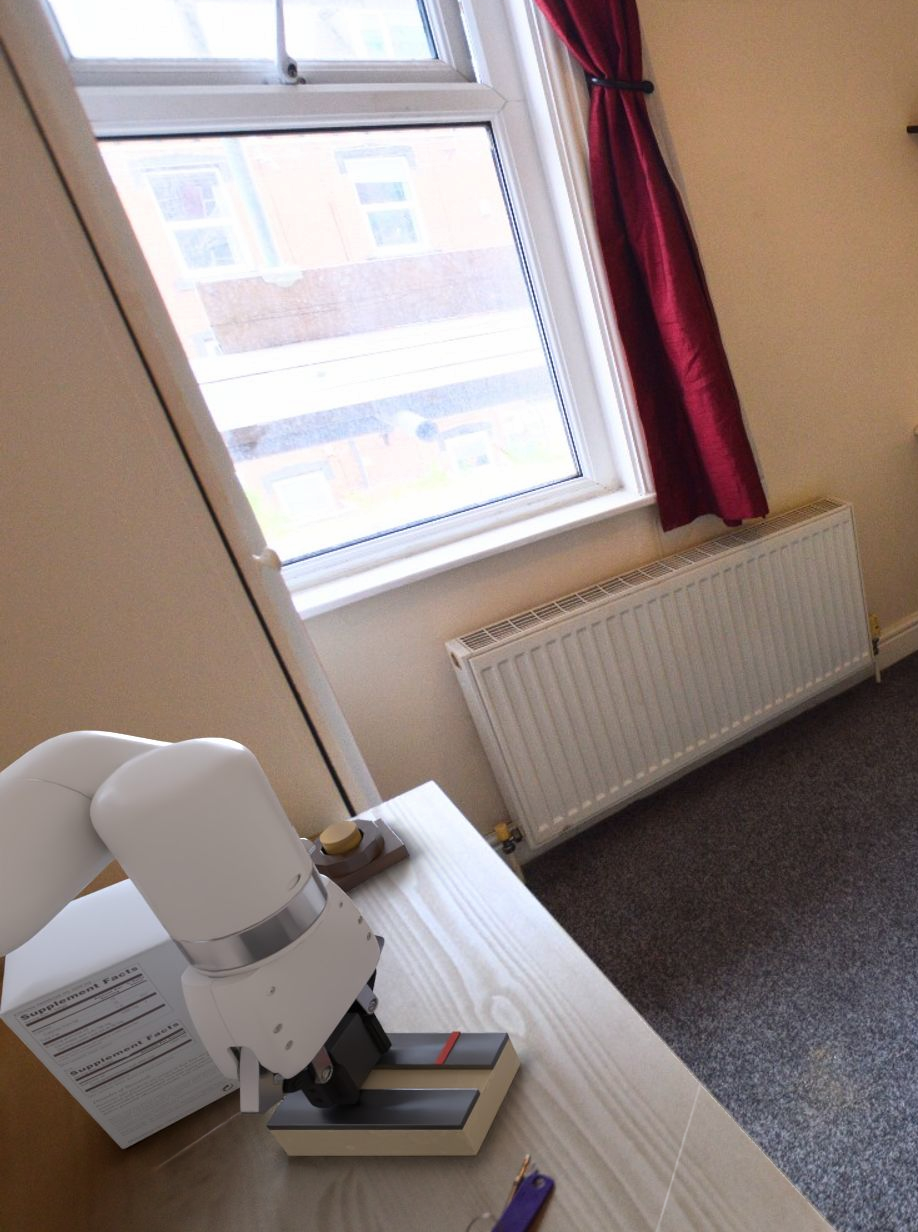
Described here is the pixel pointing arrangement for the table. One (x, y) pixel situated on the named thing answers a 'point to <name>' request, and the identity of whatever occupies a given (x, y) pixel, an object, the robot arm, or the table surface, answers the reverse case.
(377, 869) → the button block
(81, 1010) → the supplement box
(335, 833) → the button
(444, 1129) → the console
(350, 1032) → the slider
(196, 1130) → the table surface
